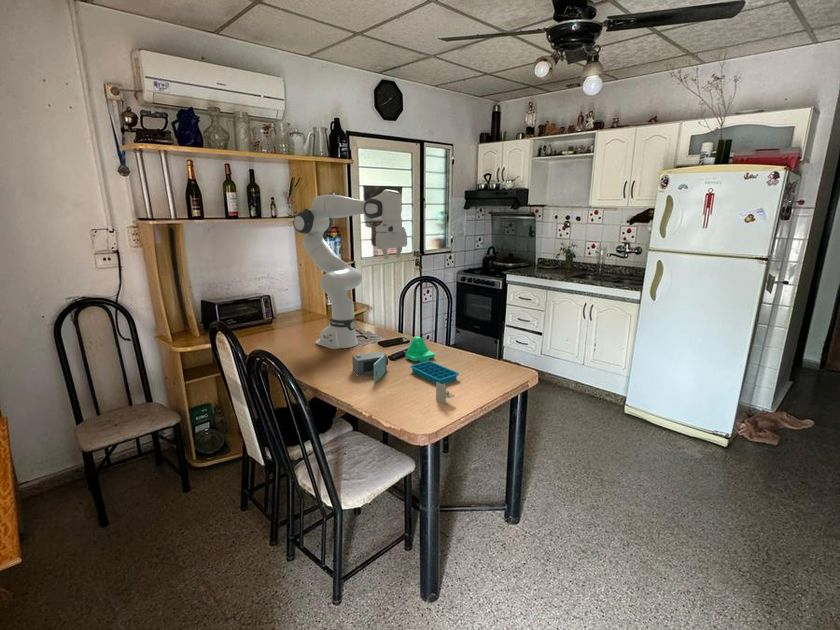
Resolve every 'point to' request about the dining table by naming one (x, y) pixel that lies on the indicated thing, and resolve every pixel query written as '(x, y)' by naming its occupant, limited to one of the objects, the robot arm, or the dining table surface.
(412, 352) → the camera mount
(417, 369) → the ice cube tray
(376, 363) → the side door
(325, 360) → the dining table surface
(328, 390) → the dining table surface
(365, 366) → the action camera
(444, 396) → the architectural model
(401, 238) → the robot arm
